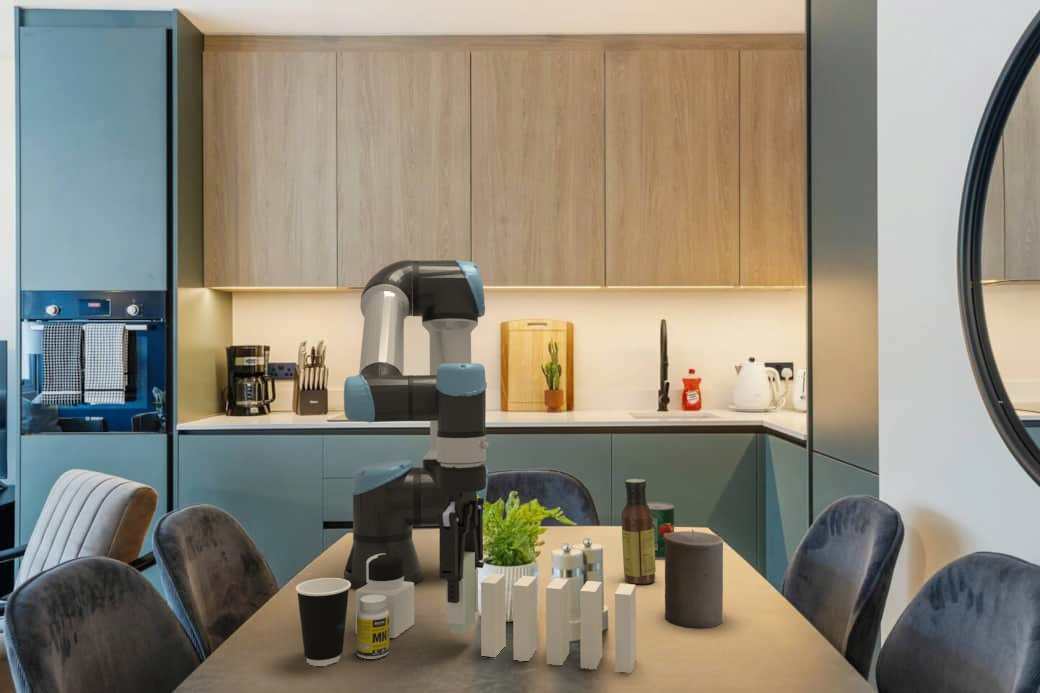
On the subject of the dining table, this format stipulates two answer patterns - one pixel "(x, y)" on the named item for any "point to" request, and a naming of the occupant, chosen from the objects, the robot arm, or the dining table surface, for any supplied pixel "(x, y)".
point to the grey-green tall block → (467, 595)
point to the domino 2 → (525, 618)
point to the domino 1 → (493, 615)
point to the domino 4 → (591, 624)
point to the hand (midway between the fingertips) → (462, 616)
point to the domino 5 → (625, 627)
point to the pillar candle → (693, 579)
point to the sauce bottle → (638, 535)
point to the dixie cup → (323, 618)
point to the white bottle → (389, 590)
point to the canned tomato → (661, 525)
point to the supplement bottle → (373, 627)
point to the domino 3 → (557, 621)
